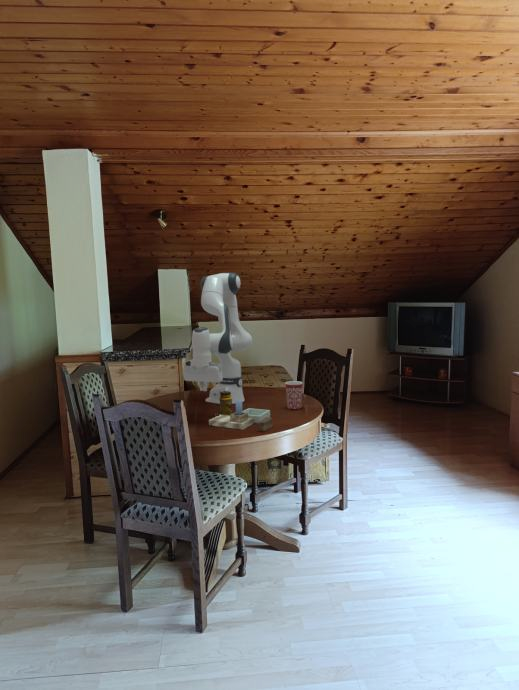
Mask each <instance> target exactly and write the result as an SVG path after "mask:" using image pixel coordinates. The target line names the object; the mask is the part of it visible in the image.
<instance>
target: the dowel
mask: <svg viewBox="0 0 519 690" xmlns="http://www.w3.org/2000/svg"><path fill="white" fill-rule="evenodd" d="M242 411H243V402H242V401H241V400H237V401H236V403H235V412H236V415H240V416H241V415H243V413H242Z"/></svg>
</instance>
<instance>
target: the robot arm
mask: <svg viewBox="0 0 519 690" xmlns="http://www.w3.org/2000/svg"><path fill="white" fill-rule="evenodd" d="M199 282H200V284H199V285H200V289H201V296H200V297H201V298H200V304H201V307H202V309H203V310H204V311H205V312H207V313H208V314H211V316H212V315H213V316H216V317H218V322H219V323H220V324H221V328H222V329H221V332H217V333H214V332H213V333H211V332H210V330H209V328H208V327H205V326H204V327H203V326H201V327H196V328H194V329H193V330H192V336H191V347H192V358H191V359H188V360H186V361H184V362H183V366H184V367H183V379H184V381H185V382H197V385H198V387H199V391H200V392H207V391H208V386H209V384H210V383H213V384H214V383H217V384H216V385H215V386H213V387H212V388H211V389H210V390H209V397H207V398H205V402H206V403H212V404H218V405H220V393H221V392H223V391H229V392H231V398H232V405H233V404H235V405H236V401H237V400H241V401H242V403H243V402H245V400H246V398H245V397H244V392H243V376H242V364H241V362H240V361H239V360H238V359H237V358H235V357H232V355H231V354H232V352H234V353H235V352H243V351H247V350H250V349H251V347H252V345H253V337H252V335H251V334H250V332H247V330H245V329H244V328H243V326H242V325H241V321H240V317H239V311H238V308H239V307H238V299H237V292H239V290H240V289H241V284H242V283H241V278H240V276H239V274H238V273H237V272H221V273H217V274H211V275H206V276H203V277H202V278H201V280H200V281H199ZM212 354H214V355H215V356H216V357H217V359H218V361H219V362H213V361H212ZM203 385H204V386H203Z"/></svg>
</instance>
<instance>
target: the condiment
mask: <svg viewBox="0 0 519 690" xmlns="http://www.w3.org/2000/svg"><path fill="white" fill-rule="evenodd" d="M216 414H217V415H228V416H230V415H231V414H233V404H232V398H231V392H229V391H223V392H221V393H220V404H219V413H214V415H215V416H216Z"/></svg>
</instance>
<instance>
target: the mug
mask: <svg viewBox="0 0 519 690" xmlns="http://www.w3.org/2000/svg"><path fill="white" fill-rule="evenodd" d="M284 384H285V393H286V407H287V409H288V410H291V409H297V410H301V409H300V408H302V400H303V399H302V398H303V396H302V395H303V382H302V381H298V380H297V381H296V380H292V381H291V380H290V381H286V382H285V383H284Z"/></svg>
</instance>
